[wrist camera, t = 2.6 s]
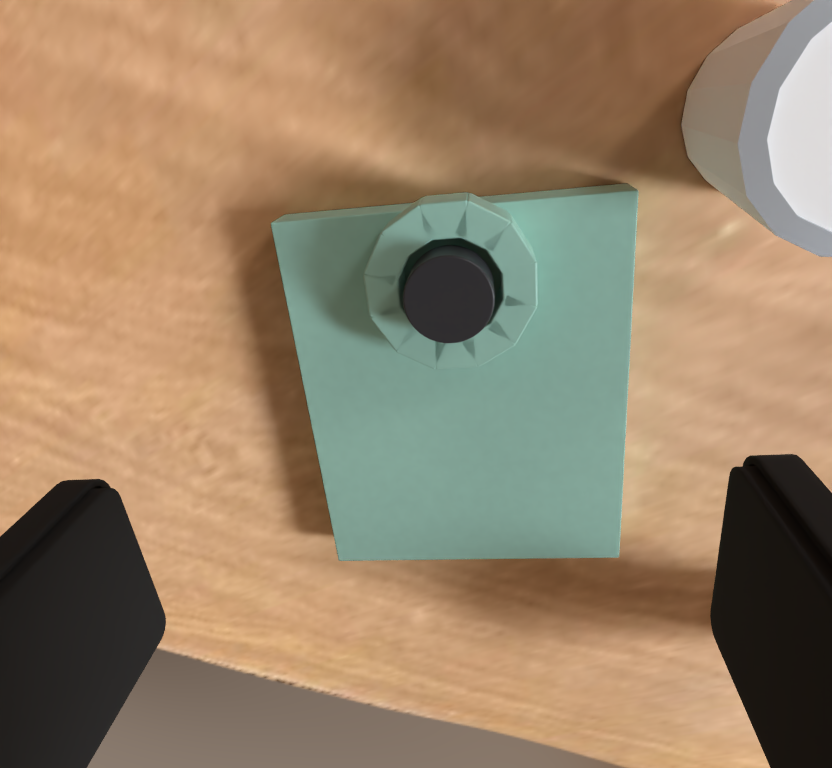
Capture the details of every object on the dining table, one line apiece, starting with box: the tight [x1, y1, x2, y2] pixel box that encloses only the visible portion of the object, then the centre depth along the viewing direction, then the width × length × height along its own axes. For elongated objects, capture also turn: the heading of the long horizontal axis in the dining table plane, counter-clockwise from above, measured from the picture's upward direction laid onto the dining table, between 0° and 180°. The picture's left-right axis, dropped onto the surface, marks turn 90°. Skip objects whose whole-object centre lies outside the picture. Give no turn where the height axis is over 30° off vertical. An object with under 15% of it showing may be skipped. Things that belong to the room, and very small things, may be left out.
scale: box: [271, 183, 638, 561], centre depth 24 cm, size 16×13×4 cm
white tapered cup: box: [681, 0, 832, 257], centre depth 17 cm, size 7×7×7 cm
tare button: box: [403, 245, 495, 343], centre depth 20 cm, size 3×3×2 cm
